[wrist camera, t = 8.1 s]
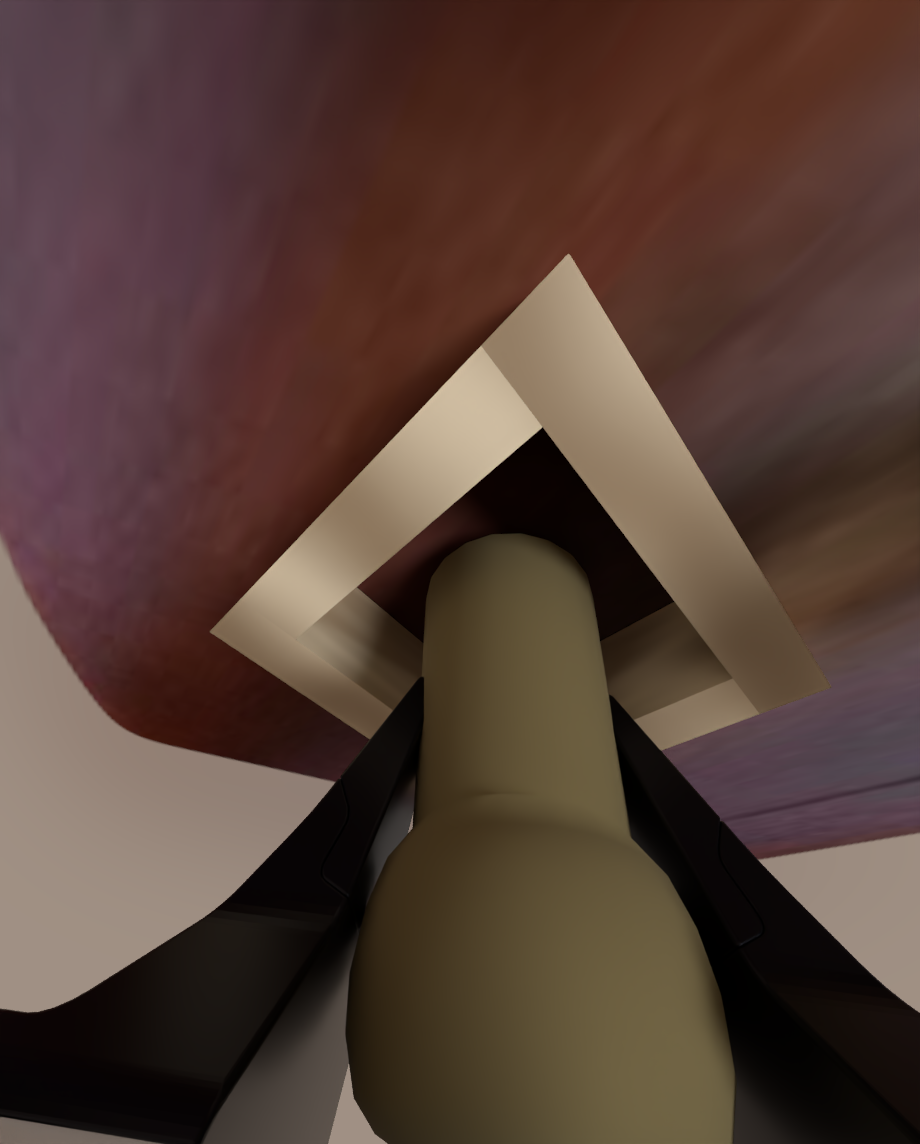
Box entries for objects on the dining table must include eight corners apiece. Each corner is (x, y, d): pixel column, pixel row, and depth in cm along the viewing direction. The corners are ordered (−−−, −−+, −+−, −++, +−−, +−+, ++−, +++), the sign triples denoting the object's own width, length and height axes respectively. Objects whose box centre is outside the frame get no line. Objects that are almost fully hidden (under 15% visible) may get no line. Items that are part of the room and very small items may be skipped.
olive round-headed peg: (540, 685, 15) (611, 1211, 6) (405, 635, 15) (239, 1152, 5) (628, 574, 12) (1060, 1295, 3) (464, 503, 11) (322, 1181, 2)
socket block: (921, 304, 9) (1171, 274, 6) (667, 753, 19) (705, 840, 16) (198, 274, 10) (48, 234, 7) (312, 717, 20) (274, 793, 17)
